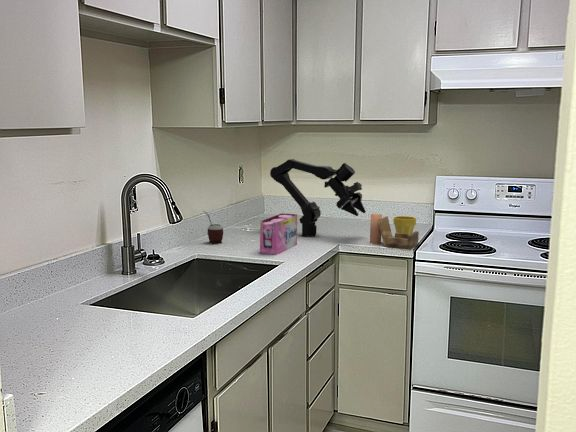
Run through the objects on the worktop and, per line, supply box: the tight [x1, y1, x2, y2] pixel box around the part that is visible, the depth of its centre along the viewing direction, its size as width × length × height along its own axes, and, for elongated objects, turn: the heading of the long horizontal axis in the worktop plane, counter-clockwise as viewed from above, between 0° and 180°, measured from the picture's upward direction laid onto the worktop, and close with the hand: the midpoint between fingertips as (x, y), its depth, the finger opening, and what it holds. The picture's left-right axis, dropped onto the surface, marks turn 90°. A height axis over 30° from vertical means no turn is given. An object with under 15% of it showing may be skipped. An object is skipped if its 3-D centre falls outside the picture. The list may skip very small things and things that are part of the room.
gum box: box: [259, 212, 298, 256], centre depth 239 cm, size 24×8×14 cm, turn 157°
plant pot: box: [393, 215, 417, 234], centre depth 264 cm, size 10×10×10 cm
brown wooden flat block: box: [378, 216, 393, 247], centre depth 251 cm, size 4×10×12 cm, turn 152°
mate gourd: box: [203, 210, 224, 245], centre depth 249 cm, size 8×8×15 cm
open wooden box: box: [386, 230, 420, 251], centre depth 247 cm, size 10×12×6 cm
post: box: [369, 213, 383, 245], centre depth 253 cm, size 5×5×13 cm
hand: (361, 214), depth 255 cm, fingers open, 9 cm apart
